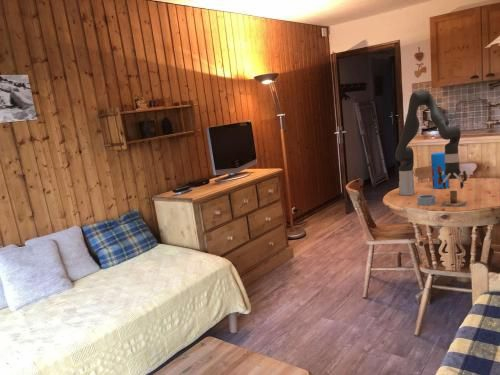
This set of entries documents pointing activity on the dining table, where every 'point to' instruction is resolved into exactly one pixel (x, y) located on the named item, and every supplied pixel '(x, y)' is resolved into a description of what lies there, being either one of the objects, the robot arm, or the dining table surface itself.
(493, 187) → the dining table surface
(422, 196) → the bowl
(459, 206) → the coaster
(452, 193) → the lid
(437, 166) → the blue box
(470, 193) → the dining table surface
